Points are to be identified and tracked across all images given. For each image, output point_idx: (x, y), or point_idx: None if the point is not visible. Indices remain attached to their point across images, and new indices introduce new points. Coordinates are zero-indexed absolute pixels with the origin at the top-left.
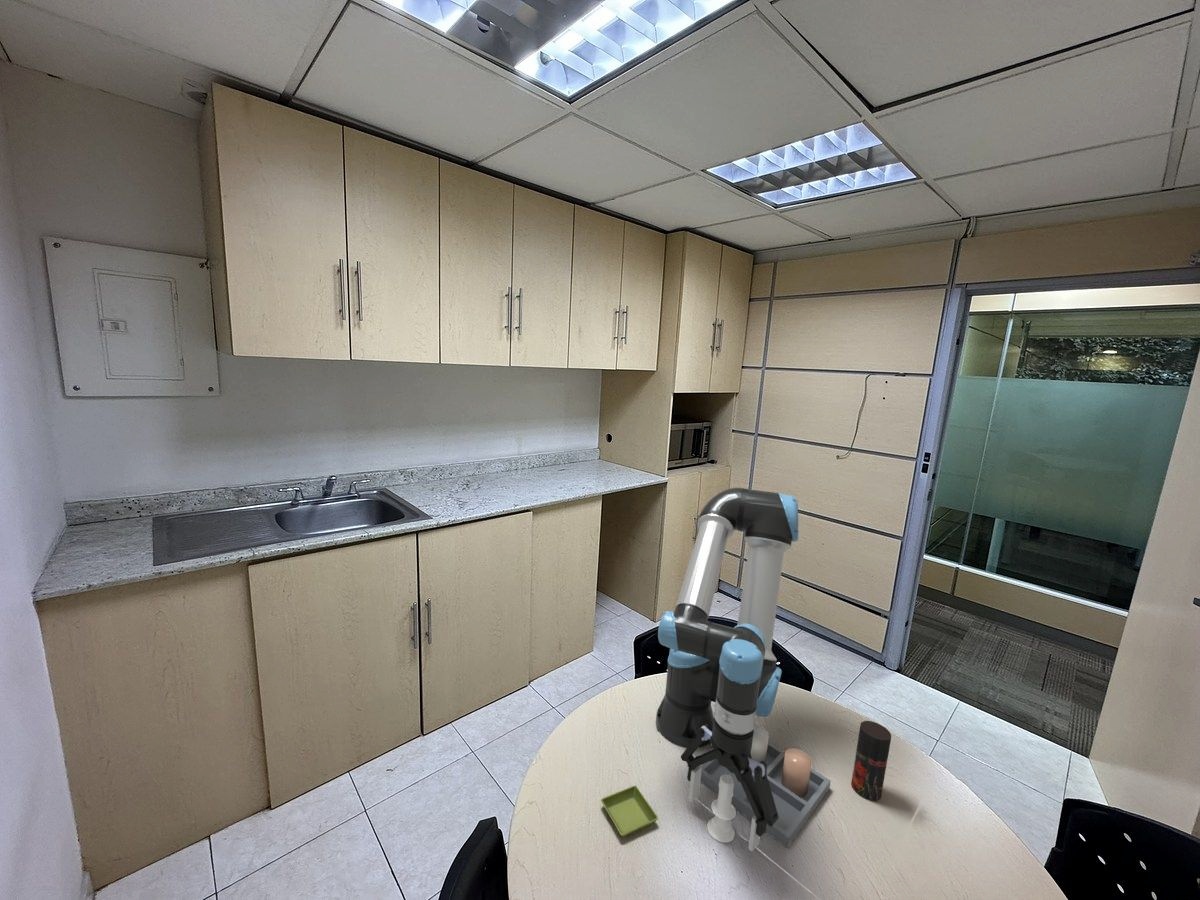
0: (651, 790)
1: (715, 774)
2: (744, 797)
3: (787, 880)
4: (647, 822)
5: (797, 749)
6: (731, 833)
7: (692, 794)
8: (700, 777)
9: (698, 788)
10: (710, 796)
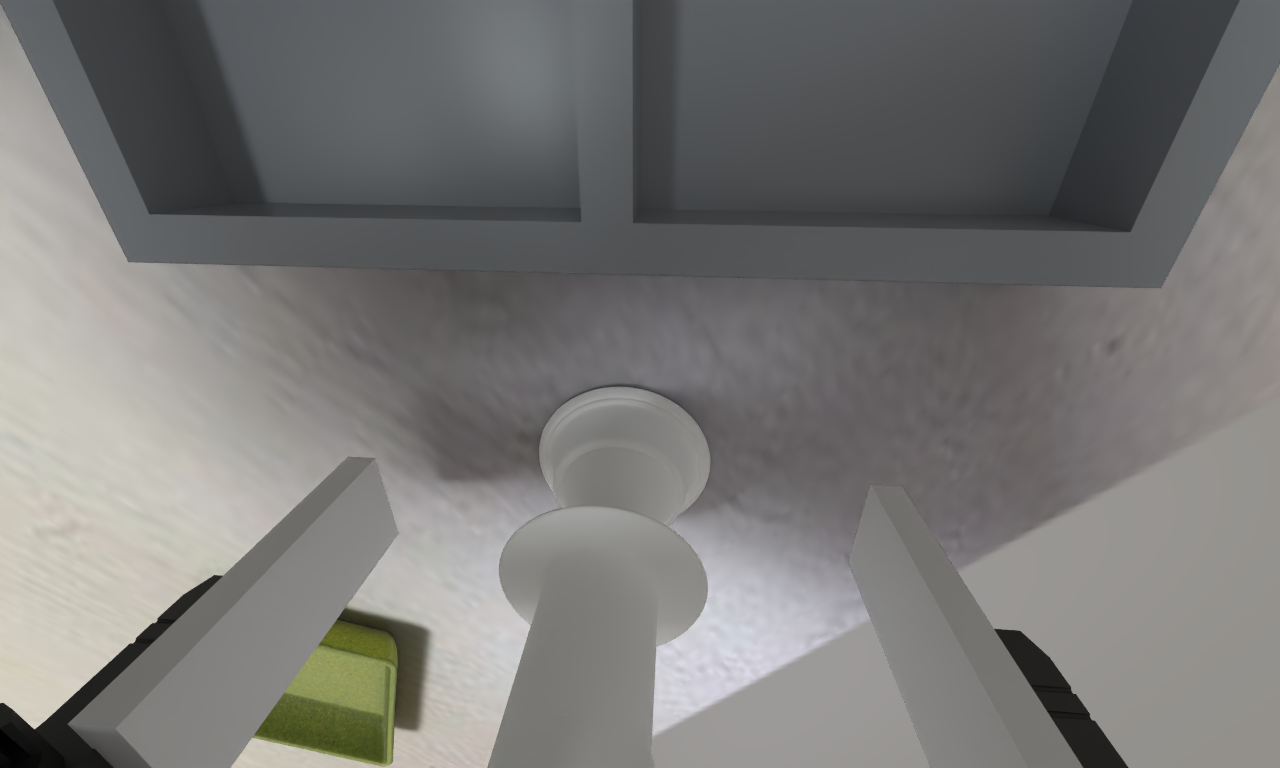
0: (224, 518)
1: (235, 43)
2: (621, 189)
3: (1080, 456)
4: (389, 699)
5: None
6: (690, 465)
7: (363, 575)
8: (252, 596)
9: (337, 519)
10: (409, 293)
